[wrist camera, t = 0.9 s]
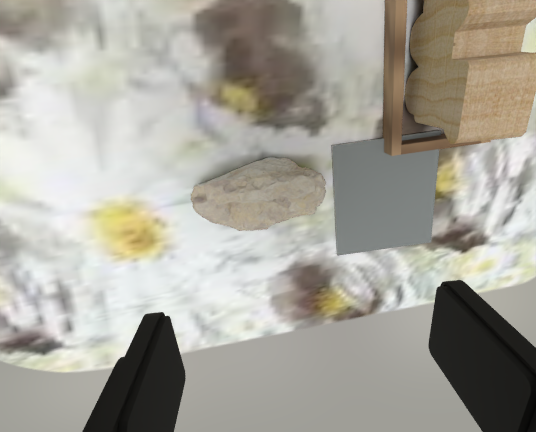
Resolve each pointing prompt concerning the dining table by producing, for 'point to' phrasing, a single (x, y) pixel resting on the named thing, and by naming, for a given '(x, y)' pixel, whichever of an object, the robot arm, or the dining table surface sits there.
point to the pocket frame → (401, 88)
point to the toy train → (472, 68)
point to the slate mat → (383, 195)
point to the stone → (260, 194)
